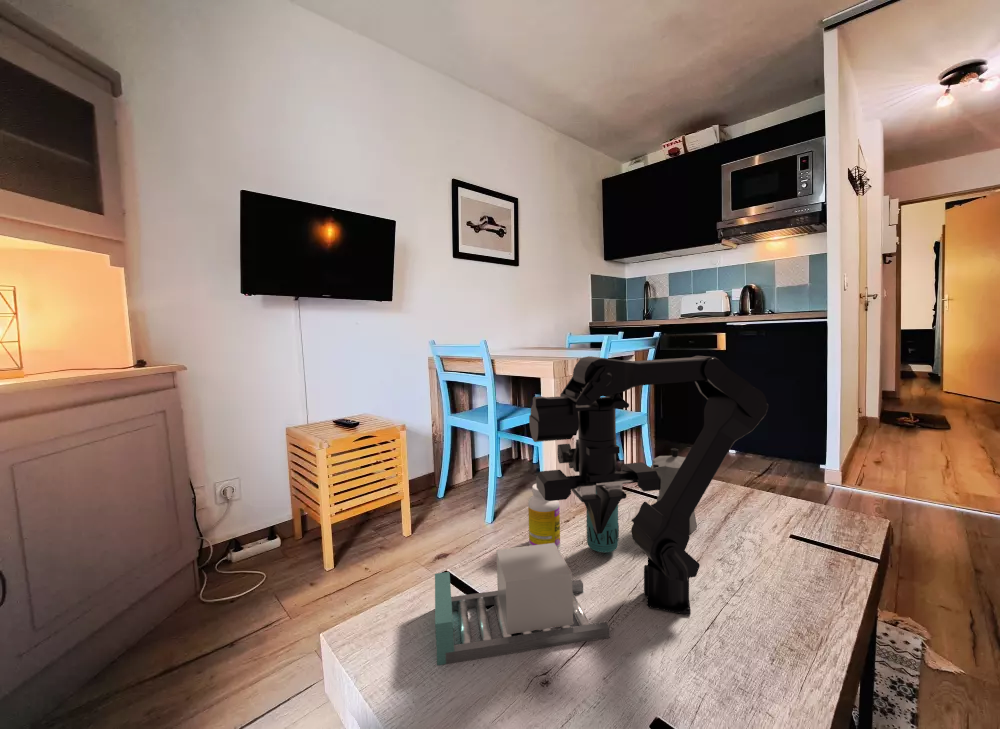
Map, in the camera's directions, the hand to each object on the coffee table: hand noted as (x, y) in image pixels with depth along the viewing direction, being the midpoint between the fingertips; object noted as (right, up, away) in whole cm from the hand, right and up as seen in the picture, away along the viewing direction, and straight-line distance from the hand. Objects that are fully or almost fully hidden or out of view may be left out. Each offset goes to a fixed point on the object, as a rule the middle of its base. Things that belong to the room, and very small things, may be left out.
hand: (598, 532), depth 65 cm
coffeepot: (+25, -10, +29) cm, 40 cm away
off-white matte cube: (-10, -12, -1) cm, 16 cm away
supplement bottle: (-6, -12, +22) cm, 25 cm away
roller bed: (-12, -14, -1) cm, 18 cm away
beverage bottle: (+5, -12, +18) cm, 22 cm away
